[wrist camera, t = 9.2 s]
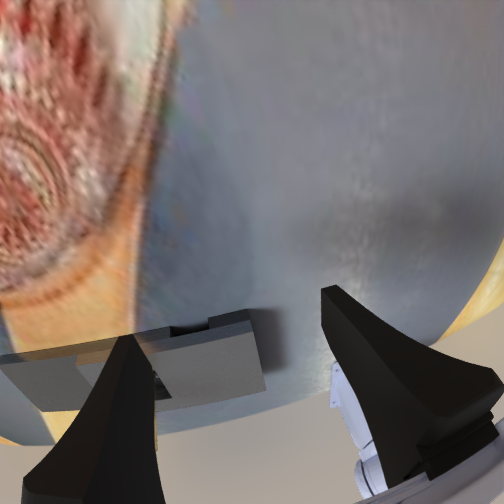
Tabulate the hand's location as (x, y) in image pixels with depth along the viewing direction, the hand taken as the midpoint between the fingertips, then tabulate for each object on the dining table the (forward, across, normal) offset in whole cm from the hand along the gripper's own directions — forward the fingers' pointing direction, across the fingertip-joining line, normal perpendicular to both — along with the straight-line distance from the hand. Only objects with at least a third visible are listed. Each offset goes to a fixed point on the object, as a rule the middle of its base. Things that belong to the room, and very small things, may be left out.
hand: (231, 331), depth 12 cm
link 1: (+9, +14, +12) cm, 21 cm away
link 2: (+9, +6, +12) cm, 16 cm away
